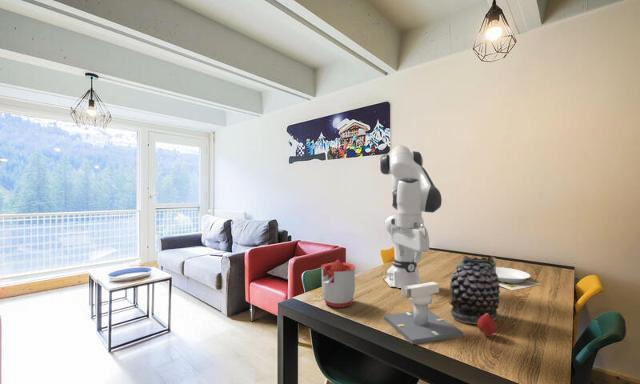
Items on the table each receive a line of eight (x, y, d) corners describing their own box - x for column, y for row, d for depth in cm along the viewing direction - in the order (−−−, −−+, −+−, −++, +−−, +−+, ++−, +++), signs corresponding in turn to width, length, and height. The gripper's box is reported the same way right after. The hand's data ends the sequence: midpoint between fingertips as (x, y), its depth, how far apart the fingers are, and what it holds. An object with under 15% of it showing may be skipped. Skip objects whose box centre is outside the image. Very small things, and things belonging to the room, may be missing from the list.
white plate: (472, 278, 167) (472, 272, 167) (487, 270, 184) (486, 264, 184) (524, 288, 148) (524, 281, 148) (535, 278, 165) (535, 272, 165)
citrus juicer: (311, 305, 129) (311, 261, 129) (335, 294, 142) (334, 254, 142) (340, 314, 119) (339, 266, 119) (362, 302, 132) (361, 258, 132)
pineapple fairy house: (478, 307, 125) (477, 249, 125) (511, 321, 111) (510, 256, 111) (440, 314, 118) (439, 253, 118) (470, 331, 104) (469, 261, 104)
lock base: (383, 319, 114) (383, 295, 114) (427, 313, 119) (427, 290, 119) (412, 344, 95) (411, 315, 95) (463, 336, 100) (462, 308, 100)
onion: (473, 332, 103) (473, 309, 103) (489, 331, 103) (488, 309, 103) (484, 340, 97) (484, 316, 97) (500, 339, 97) (500, 316, 97)
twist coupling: (428, 294, 114) (428, 279, 114) (444, 301, 106) (444, 285, 106) (397, 300, 108) (397, 284, 108) (411, 307, 101) (411, 291, 101)
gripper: (434, 224, 97) (434, 265, 97) (402, 219, 117) (402, 253, 117) (417, 225, 95) (417, 267, 95) (388, 219, 115) (388, 253, 115)
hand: (409, 259), depth 106 cm, fingers open, 8 cm apart
